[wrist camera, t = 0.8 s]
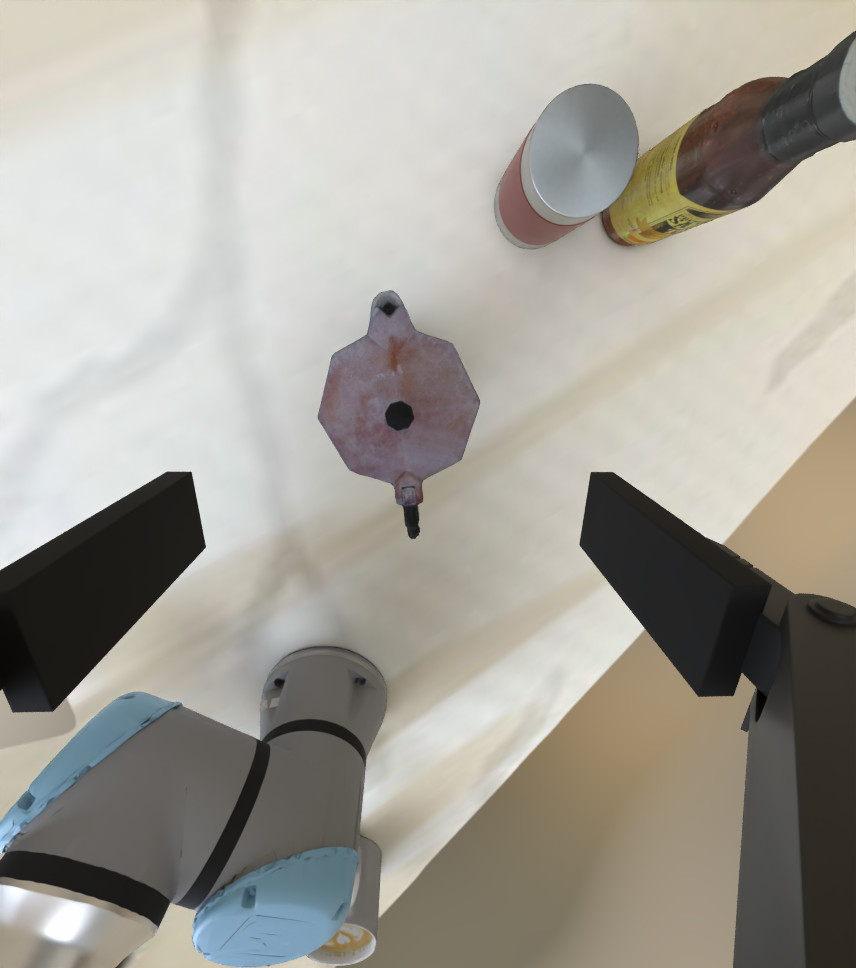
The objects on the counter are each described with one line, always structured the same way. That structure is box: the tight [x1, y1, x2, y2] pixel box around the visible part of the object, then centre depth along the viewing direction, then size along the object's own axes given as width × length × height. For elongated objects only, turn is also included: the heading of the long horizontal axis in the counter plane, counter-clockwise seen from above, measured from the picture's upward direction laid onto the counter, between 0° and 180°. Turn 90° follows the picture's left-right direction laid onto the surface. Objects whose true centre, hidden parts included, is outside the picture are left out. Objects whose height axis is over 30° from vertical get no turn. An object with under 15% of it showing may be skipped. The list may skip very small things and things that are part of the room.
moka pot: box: [318, 290, 480, 539], centre depth 32 cm, size 10×15×20 cm, turn 9°
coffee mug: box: [306, 836, 381, 966], centre depth 60 cm, size 13×10×10 cm
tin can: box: [494, 84, 639, 249], centre depth 31 cm, size 7×7×11 cm
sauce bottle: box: [603, 31, 856, 246], centre depth 27 cm, size 6×6×20 cm
